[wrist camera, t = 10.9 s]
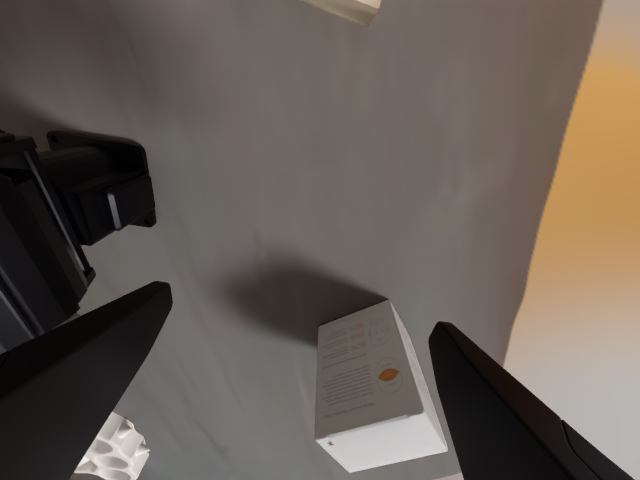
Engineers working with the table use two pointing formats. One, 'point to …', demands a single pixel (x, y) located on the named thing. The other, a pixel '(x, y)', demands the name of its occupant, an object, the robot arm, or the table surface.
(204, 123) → the table surface
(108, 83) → the table surface
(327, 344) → the small box
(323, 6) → the birch base block
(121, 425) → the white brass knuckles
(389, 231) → the table surface
